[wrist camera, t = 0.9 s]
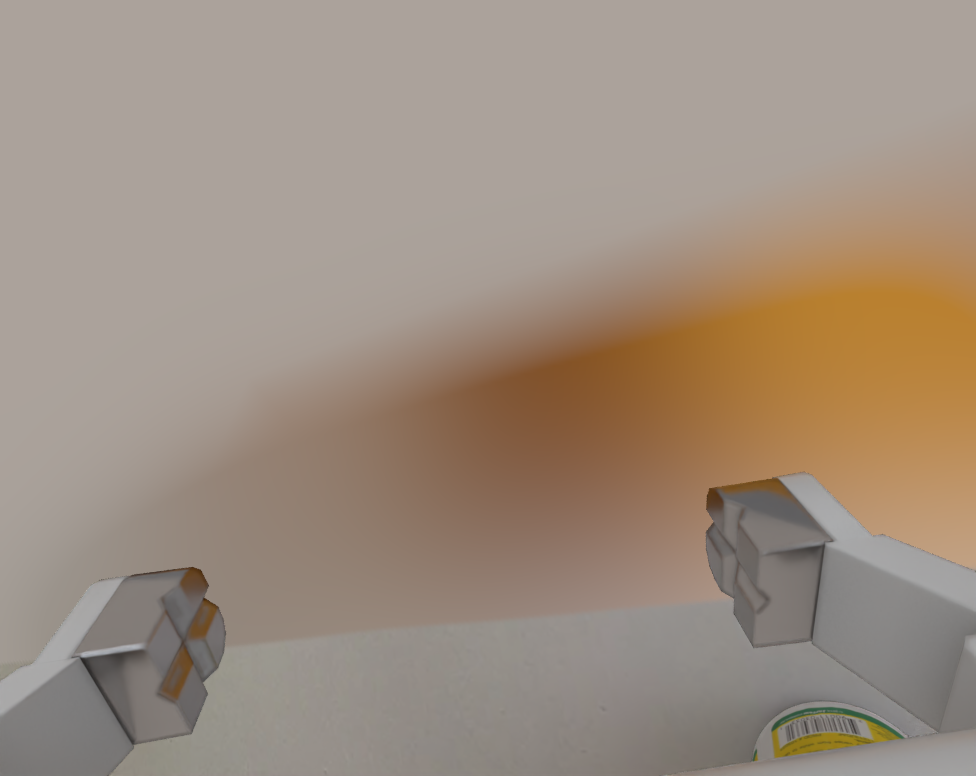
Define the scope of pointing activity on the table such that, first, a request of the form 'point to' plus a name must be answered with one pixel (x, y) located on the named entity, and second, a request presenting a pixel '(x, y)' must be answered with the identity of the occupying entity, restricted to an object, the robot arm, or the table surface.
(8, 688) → the robot arm
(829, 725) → the supplement bottle
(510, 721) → the table surface
